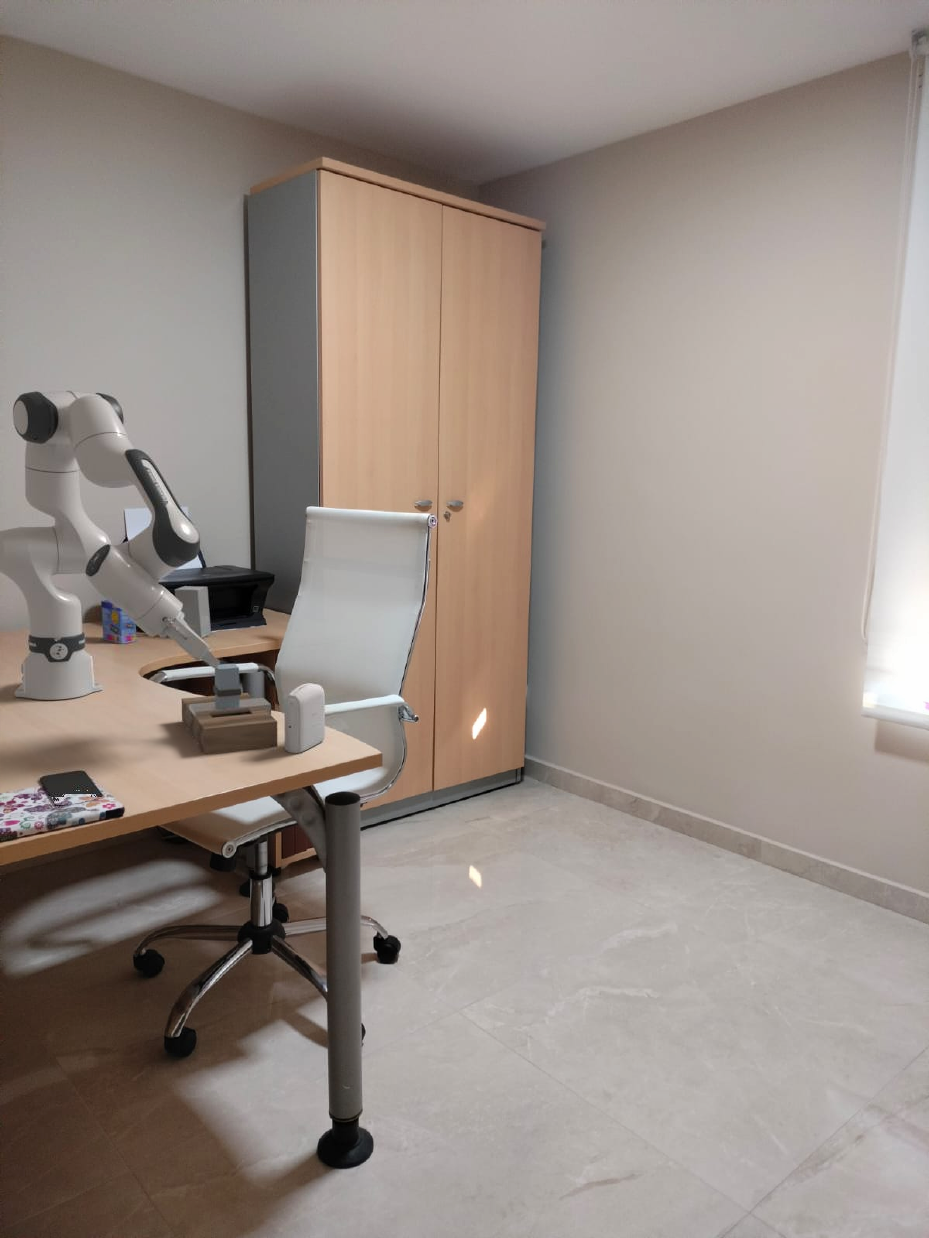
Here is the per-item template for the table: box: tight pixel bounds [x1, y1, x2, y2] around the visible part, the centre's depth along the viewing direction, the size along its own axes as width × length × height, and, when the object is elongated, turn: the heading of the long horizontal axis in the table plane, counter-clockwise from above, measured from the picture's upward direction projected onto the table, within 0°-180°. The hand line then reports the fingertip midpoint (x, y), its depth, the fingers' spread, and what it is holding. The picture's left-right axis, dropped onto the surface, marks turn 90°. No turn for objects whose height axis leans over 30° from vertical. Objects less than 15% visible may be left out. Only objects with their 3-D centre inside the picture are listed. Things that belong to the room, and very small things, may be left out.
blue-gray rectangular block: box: [212, 663, 242, 708], centre depth 183 cm, size 5×5×8 cm
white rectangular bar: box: [189, 697, 272, 717], centre depth 184 cm, size 6×15×4 cm, turn 117°
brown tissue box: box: [181, 692, 278, 755], centre depth 184 cm, size 24×14×5 cm, turn 27°
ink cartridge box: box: [100, 599, 137, 645], centre depth 273 cm, size 10×6×14 cm, turn 54°
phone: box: [39, 769, 104, 801], centre depth 151 cm, size 7×1×15 cm
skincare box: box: [174, 585, 212, 639], centre depth 283 cm, size 8×7×16 cm
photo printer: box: [283, 683, 326, 754], centre depth 177 cm, size 10×4×12 cm, turn 158°
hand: (211, 659), depth 181 cm, fingers open, 8 cm apart
